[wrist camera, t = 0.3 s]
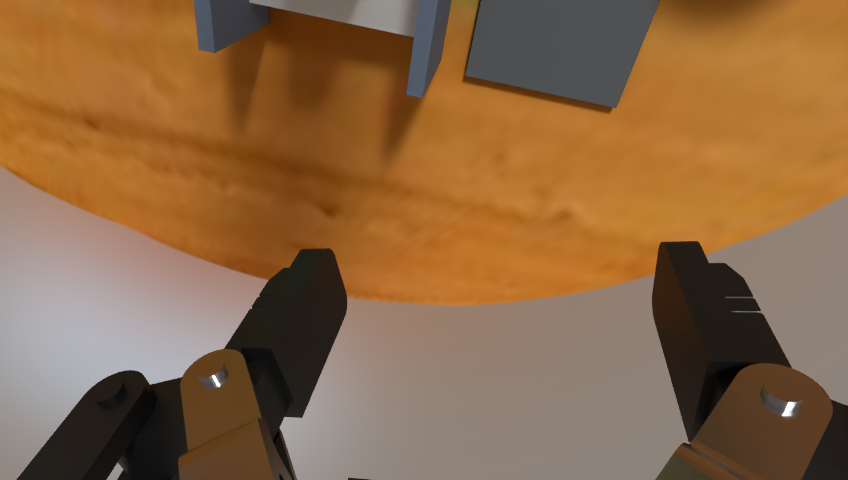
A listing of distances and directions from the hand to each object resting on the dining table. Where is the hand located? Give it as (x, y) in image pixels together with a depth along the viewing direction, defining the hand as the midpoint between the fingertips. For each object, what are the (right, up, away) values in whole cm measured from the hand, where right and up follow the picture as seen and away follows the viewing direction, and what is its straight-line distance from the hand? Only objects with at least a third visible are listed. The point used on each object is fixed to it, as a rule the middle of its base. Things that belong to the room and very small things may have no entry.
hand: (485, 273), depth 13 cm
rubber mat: (+8, +16, +21) cm, 27 cm away
